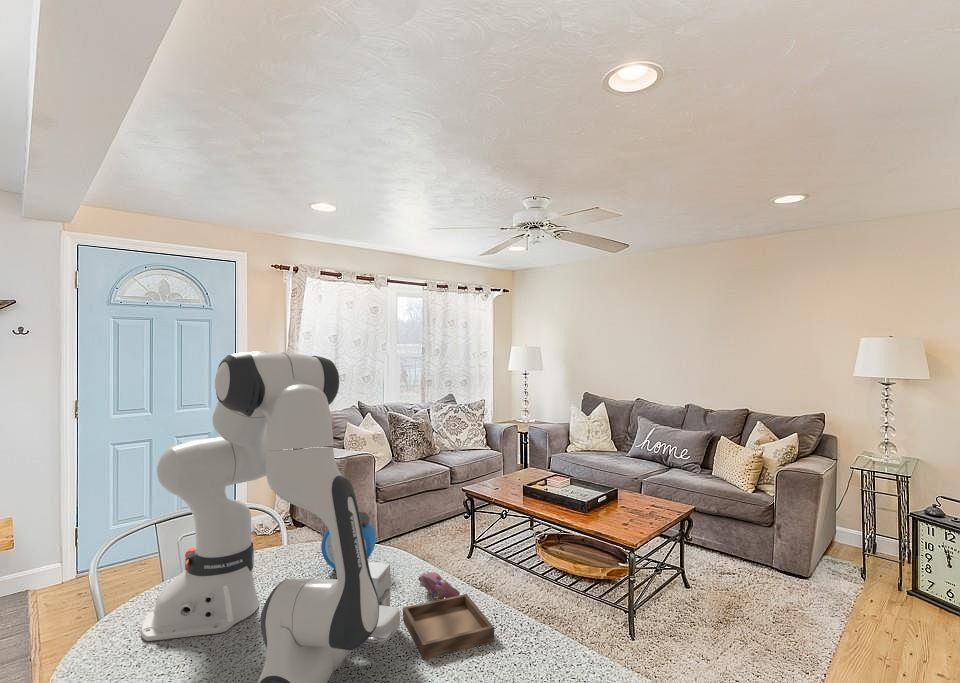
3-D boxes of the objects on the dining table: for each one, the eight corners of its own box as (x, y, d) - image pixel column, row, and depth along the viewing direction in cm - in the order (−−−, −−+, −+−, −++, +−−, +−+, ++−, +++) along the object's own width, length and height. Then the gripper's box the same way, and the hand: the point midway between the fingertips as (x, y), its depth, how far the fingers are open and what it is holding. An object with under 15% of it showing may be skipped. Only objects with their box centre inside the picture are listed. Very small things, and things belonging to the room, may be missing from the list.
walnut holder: (423, 659, 96) (423, 645, 96) (402, 620, 109) (402, 607, 109) (494, 641, 102) (494, 627, 102) (466, 606, 115) (466, 593, 115)
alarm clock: (320, 572, 132) (320, 515, 132) (328, 562, 138) (328, 507, 138) (370, 573, 131) (370, 515, 131) (376, 563, 138) (376, 508, 138)
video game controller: (422, 596, 123) (412, 575, 121) (435, 582, 126) (425, 561, 123) (449, 612, 116) (438, 589, 114) (462, 596, 119) (452, 574, 116)
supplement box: (377, 641, 102) (377, 578, 102) (343, 637, 103) (343, 575, 103) (391, 622, 109) (391, 563, 109) (358, 618, 110) (358, 560, 110)
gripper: (384, 626, 88) (411, 588, 102) (279, 613, 93) (318, 578, 106) (384, 662, 88) (411, 619, 102) (279, 647, 93) (318, 608, 106)
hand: (363, 598), depth 104 cm, fingers open, 8 cm apart
